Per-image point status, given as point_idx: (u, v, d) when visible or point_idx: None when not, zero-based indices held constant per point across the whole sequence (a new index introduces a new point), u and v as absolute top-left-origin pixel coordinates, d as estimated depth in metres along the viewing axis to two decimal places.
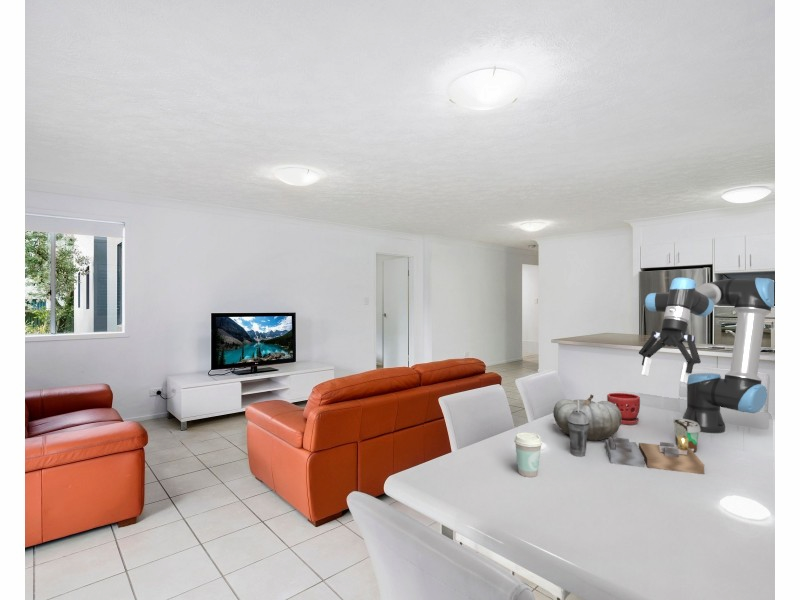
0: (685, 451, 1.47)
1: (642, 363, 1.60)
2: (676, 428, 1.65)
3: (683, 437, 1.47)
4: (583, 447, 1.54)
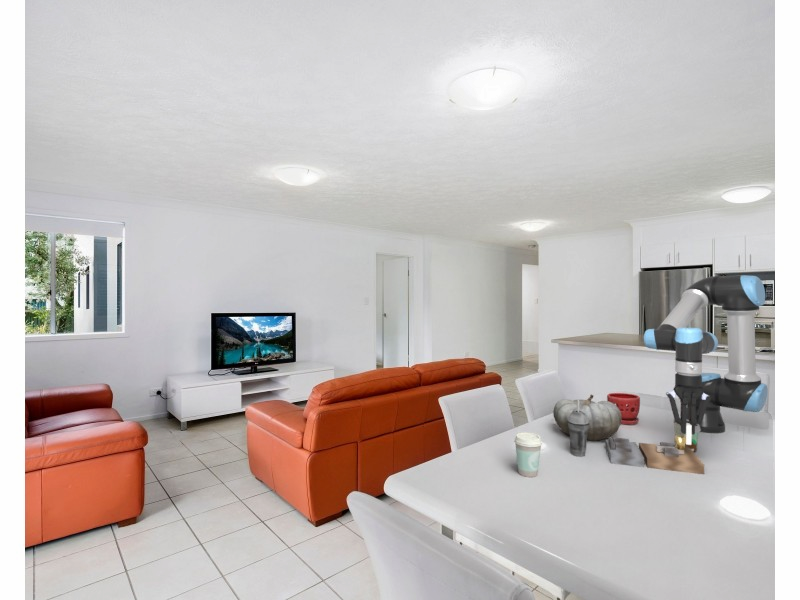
0: (682, 451, 1.47)
1: (682, 431, 1.47)
2: (676, 428, 1.65)
3: (680, 437, 1.48)
4: (583, 447, 1.54)
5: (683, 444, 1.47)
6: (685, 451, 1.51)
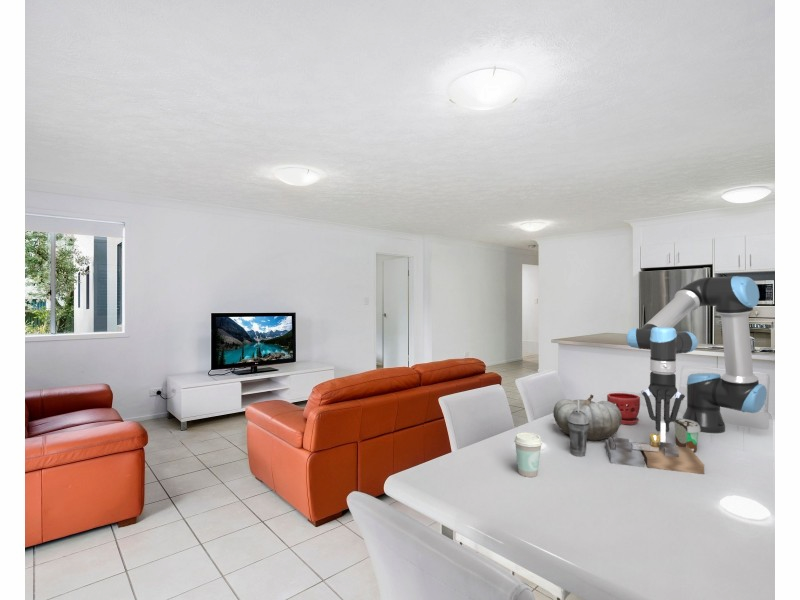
0: (657, 448, 1.50)
1: (657, 429, 1.50)
2: (676, 428, 1.65)
3: (655, 434, 1.50)
4: (583, 447, 1.54)
5: (657, 441, 1.49)
6: (685, 451, 1.51)
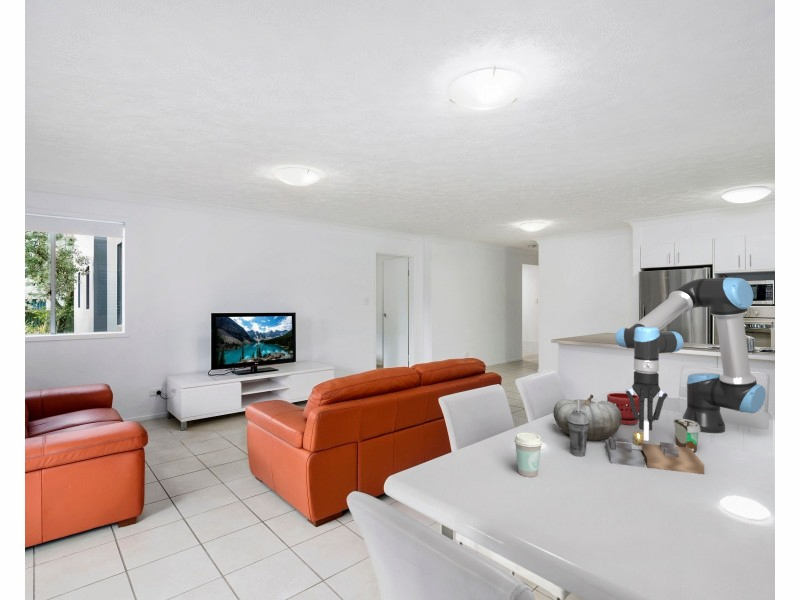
0: (640, 446, 1.51)
1: (640, 427, 1.51)
2: (676, 428, 1.65)
3: (638, 433, 1.52)
4: (583, 447, 1.54)
5: (641, 440, 1.51)
6: (685, 451, 1.51)
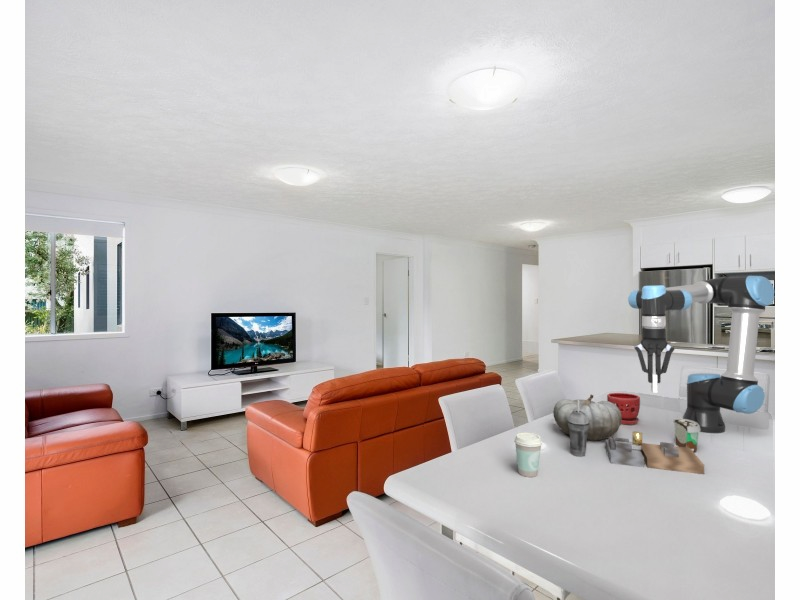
0: (639, 446, 1.51)
1: (649, 381, 1.60)
2: (676, 428, 1.65)
3: (637, 433, 1.52)
4: (583, 447, 1.54)
5: (640, 440, 1.51)
6: (685, 451, 1.51)
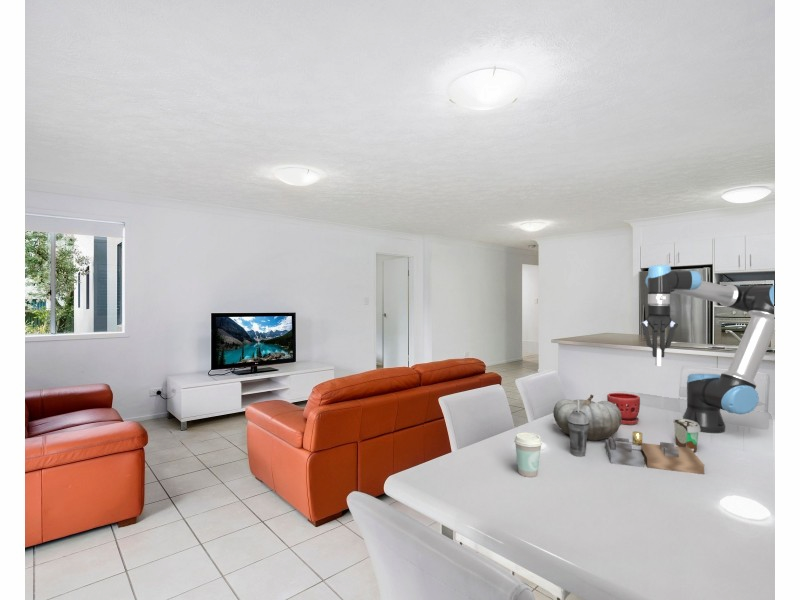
0: (639, 446, 1.51)
1: (653, 355, 1.70)
2: (676, 428, 1.65)
3: (637, 433, 1.52)
4: (583, 447, 1.54)
5: (640, 440, 1.51)
6: (685, 451, 1.51)
